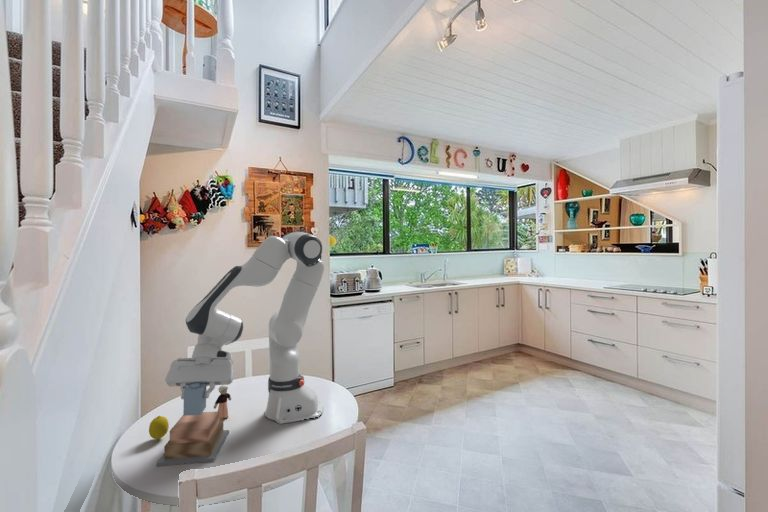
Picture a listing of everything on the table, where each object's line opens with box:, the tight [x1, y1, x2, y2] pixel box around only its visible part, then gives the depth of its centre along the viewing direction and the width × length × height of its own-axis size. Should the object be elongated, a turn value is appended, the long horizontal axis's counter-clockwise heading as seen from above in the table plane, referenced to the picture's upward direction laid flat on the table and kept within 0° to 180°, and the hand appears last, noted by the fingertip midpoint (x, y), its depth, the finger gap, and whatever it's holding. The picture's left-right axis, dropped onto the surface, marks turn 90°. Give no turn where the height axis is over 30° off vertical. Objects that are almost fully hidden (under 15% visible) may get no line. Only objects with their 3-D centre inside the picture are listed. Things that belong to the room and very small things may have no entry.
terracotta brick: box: [163, 410, 224, 459], centre depth 110 cm, size 13×13×8 cm
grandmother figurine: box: [213, 385, 232, 422], centre depth 129 cm, size 8×4×13 cm, turn 168°
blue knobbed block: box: [182, 383, 208, 416], centre depth 109 cm, size 5×5×9 cm
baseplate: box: [156, 429, 230, 467], centre depth 110 cm, size 16×16×1 cm
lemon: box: [148, 415, 170, 441], centre depth 114 cm, size 6×6×8 cm
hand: (194, 398), depth 109 cm, fingers closed on blue knobbed block, 5 cm apart
